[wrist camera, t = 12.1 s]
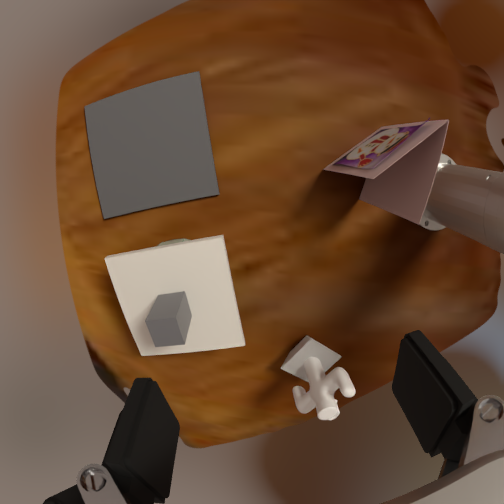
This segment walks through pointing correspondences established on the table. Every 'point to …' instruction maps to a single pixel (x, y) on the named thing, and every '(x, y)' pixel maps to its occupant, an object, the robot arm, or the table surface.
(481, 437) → the robot arm
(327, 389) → the figurine
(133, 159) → the mat
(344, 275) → the table surface
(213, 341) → the lid
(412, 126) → the greeting card
